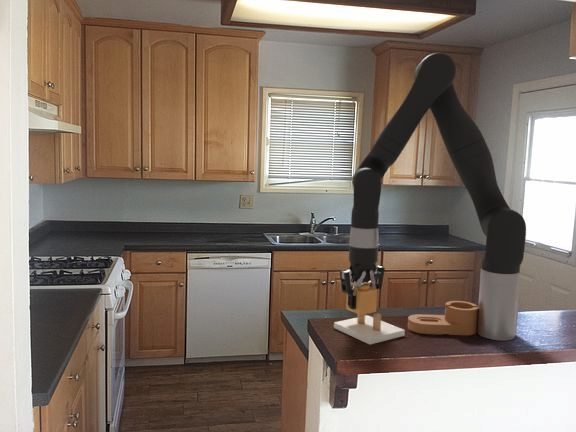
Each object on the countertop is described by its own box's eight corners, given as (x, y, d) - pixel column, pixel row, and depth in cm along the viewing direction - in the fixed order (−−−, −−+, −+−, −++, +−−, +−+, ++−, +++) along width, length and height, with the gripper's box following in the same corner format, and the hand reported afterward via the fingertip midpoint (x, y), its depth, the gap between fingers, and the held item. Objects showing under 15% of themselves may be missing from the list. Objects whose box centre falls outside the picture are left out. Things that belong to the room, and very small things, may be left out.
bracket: (471, 325, 142) (472, 301, 141) (480, 336, 134) (482, 310, 133) (405, 323, 143) (406, 299, 142) (410, 334, 135) (411, 308, 134)
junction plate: (367, 320, 144) (368, 301, 144) (404, 335, 133) (405, 314, 132) (333, 327, 138) (334, 307, 137) (369, 344, 126) (370, 322, 125)
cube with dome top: (361, 306, 141) (362, 281, 140) (376, 311, 136) (377, 285, 135) (346, 309, 138) (347, 283, 137) (360, 315, 133) (361, 288, 132)
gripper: (352, 249, 128) (349, 315, 130) (393, 244, 136) (390, 306, 138) (333, 244, 134) (331, 307, 136) (374, 239, 142) (371, 299, 144)
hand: (361, 306), depth 137 cm, fingers closed on cube with dome top, 5 cm apart
